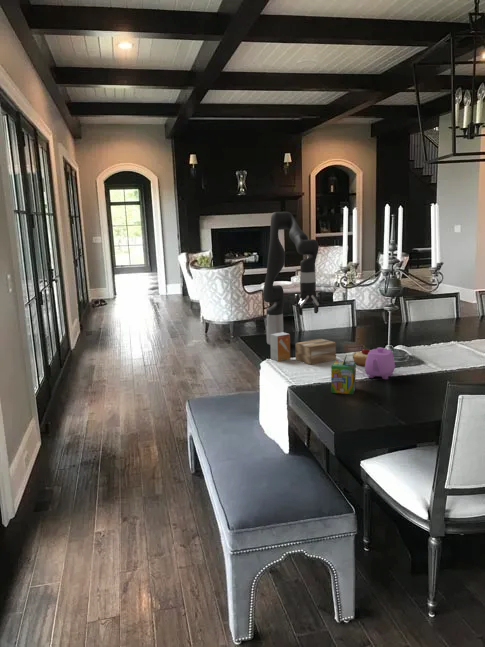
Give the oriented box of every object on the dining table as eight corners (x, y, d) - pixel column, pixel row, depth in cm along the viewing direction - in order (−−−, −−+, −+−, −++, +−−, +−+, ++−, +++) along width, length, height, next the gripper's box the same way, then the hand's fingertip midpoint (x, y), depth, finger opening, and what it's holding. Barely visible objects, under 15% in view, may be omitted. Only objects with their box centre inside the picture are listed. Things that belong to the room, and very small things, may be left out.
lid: (295, 344, 264) (295, 342, 263) (320, 339, 271) (320, 338, 271) (309, 348, 254) (309, 347, 254) (335, 343, 261) (335, 342, 261)
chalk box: (333, 386, 221) (333, 352, 218) (356, 387, 218) (356, 353, 216) (330, 393, 213) (330, 357, 210) (353, 394, 210) (353, 358, 207)
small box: (278, 361, 263) (277, 336, 261) (270, 359, 268) (269, 334, 266) (290, 358, 268) (290, 333, 265) (283, 356, 273) (282, 331, 270)
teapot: (370, 368, 245) (371, 342, 242) (398, 371, 239) (398, 343, 237) (359, 380, 227) (359, 352, 225) (389, 383, 222) (389, 354, 219)
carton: (295, 359, 265) (295, 344, 264) (320, 354, 273) (320, 339, 272) (310, 365, 255) (310, 348, 253) (336, 359, 263) (336, 343, 261)
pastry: (360, 369, 247) (360, 350, 245) (348, 362, 258) (348, 344, 256) (383, 365, 250) (383, 347, 248) (370, 359, 261) (370, 341, 259)
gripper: (316, 279, 262) (316, 311, 265) (291, 281, 257) (291, 314, 260) (324, 280, 255) (324, 313, 259) (298, 283, 250) (299, 316, 253)
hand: (308, 314), depth 259 cm, fingers open, 8 cm apart
